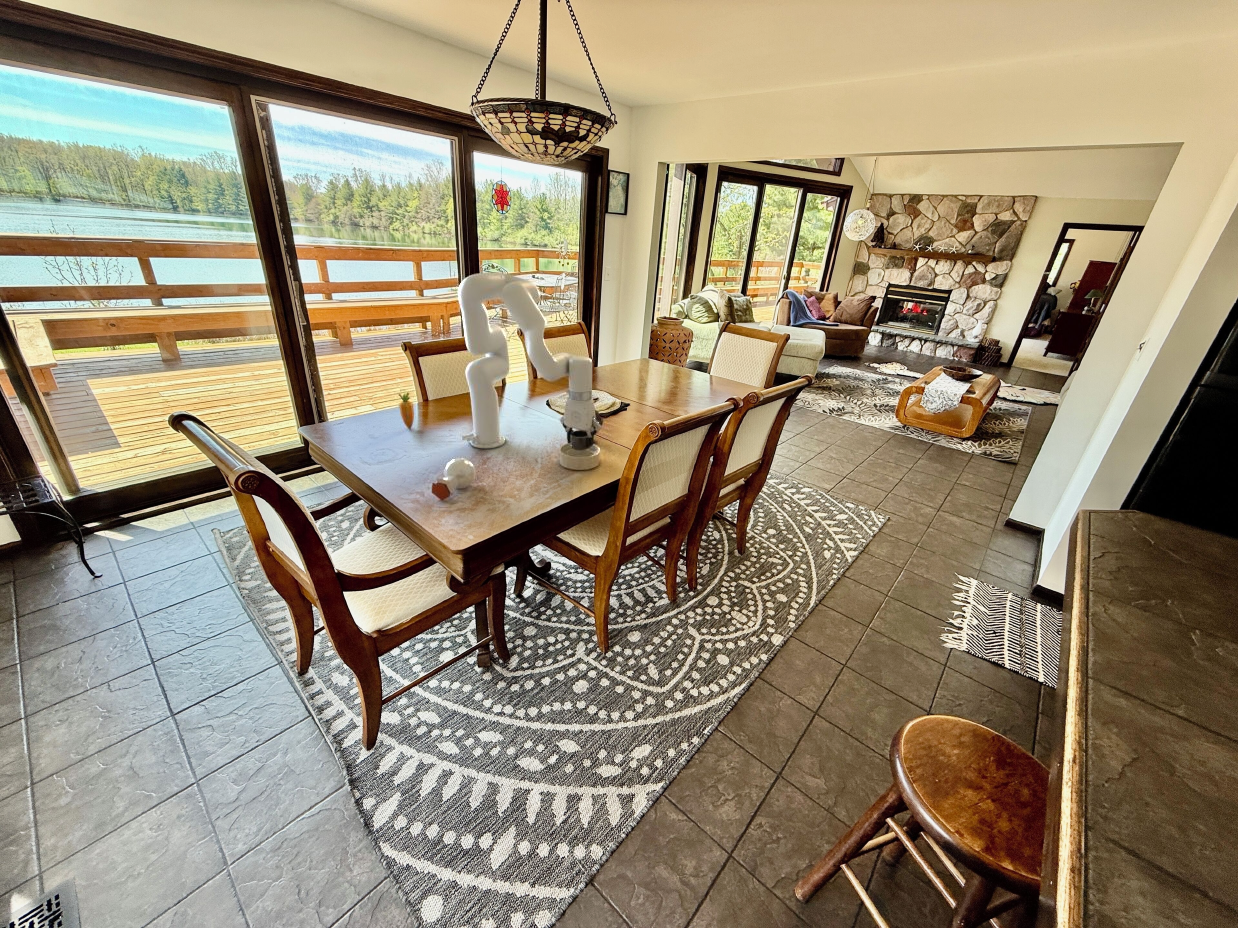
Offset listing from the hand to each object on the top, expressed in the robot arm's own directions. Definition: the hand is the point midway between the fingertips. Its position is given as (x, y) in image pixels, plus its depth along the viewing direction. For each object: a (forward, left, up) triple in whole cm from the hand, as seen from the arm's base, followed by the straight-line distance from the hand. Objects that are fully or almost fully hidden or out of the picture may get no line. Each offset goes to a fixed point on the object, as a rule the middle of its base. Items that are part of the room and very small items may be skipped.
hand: (580, 443), depth 166 cm
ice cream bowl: (+11, +15, -7) cm, 20 cm away
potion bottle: (-43, -3, -7) cm, 44 cm away
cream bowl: (0, 0, -7) cm, 7 cm away
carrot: (-48, +55, -7) cm, 74 cm away
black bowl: (0, 0, -1) cm, 1 cm away
